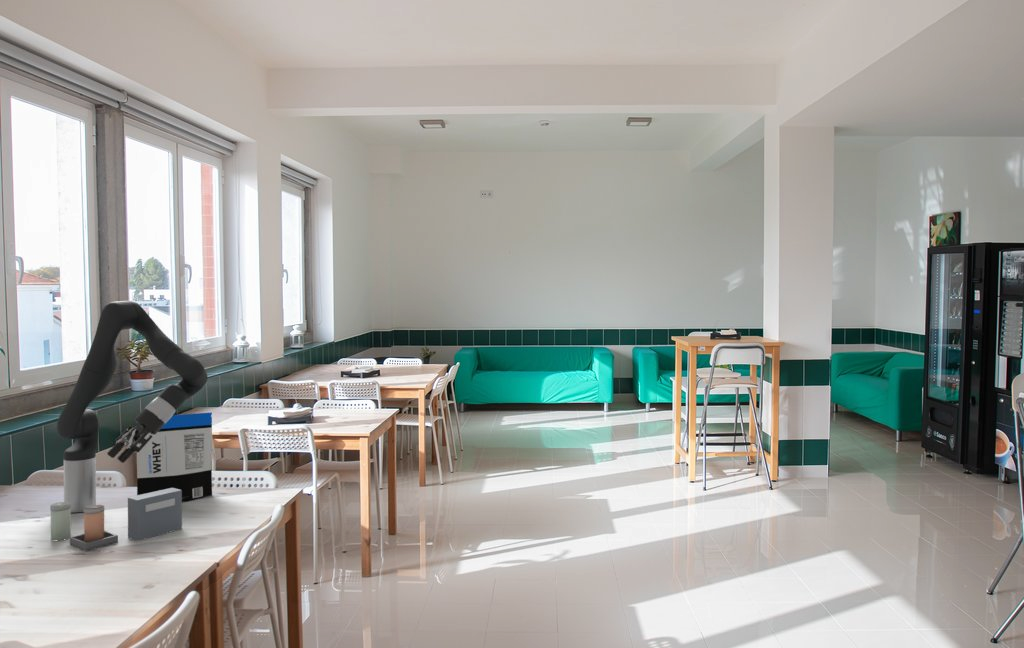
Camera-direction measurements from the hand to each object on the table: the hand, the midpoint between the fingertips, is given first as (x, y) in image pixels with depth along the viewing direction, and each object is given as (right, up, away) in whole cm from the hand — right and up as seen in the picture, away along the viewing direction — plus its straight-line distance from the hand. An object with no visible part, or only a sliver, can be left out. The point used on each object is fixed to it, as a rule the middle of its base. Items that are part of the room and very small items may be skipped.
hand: (114, 458), depth 214 cm
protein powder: (-2, -23, +43) cm, 49 cm away
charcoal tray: (-4, -24, -3) cm, 25 cm away
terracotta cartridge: (-4, -23, -3) cm, 24 cm away
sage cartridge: (-17, -24, +1) cm, 29 cm away
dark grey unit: (+9, -24, +7) cm, 26 cm away
